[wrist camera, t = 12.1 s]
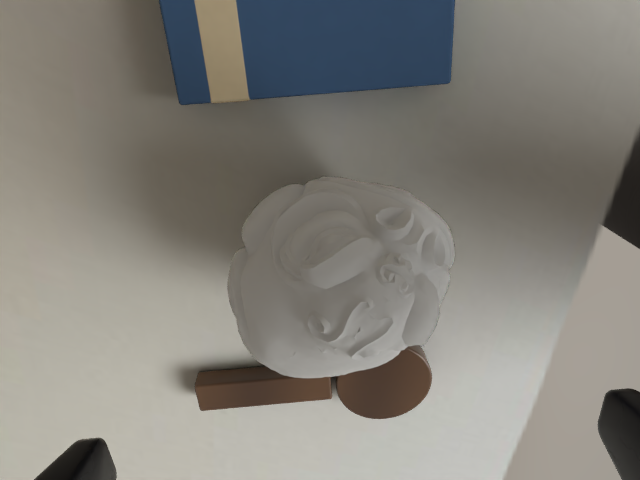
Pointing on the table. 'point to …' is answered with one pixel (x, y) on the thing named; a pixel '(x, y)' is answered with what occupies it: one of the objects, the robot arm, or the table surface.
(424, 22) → the blue eraser
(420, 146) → the table surface
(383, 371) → the brown disc with handle
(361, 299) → the frog figurine
